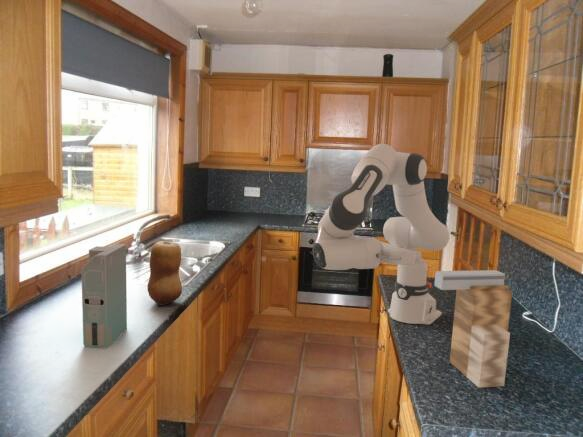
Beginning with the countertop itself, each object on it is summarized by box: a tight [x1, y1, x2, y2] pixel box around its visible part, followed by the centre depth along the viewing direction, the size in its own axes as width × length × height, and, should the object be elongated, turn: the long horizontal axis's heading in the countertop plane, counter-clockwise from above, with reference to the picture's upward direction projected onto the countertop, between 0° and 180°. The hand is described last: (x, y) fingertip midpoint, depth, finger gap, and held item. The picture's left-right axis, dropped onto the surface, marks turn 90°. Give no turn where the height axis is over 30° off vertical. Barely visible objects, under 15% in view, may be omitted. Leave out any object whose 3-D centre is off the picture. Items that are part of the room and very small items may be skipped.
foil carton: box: [433, 269, 506, 291], centre depth 151 cm, size 20×4×4 cm, turn 102°
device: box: [81, 243, 128, 349], centre depth 166 cm, size 16×8×30 cm, turn 176°
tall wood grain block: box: [449, 285, 513, 389], centre depth 152 cm, size 12×16×27 cm
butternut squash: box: [147, 240, 183, 306], centre depth 202 cm, size 14×13×25 cm
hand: (410, 251), depth 150 cm, fingers open, 8 cm apart
